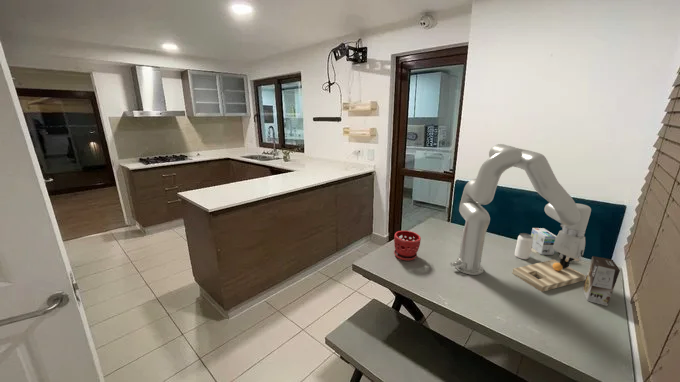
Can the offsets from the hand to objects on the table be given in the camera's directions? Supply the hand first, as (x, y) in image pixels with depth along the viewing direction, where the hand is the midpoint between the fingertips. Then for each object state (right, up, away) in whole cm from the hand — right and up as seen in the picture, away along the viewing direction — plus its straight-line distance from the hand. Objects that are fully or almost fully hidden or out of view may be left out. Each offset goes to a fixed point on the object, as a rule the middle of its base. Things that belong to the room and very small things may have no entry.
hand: (563, 267), depth 124 cm
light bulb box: (+5, +3, +22) cm, 23 cm away
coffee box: (0, -8, -15) cm, 17 cm away
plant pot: (-69, +1, +16) cm, 71 cm away
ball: (-4, +1, -2) cm, 4 cm away
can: (-9, +1, +15) cm, 18 cm away
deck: (-9, -4, -2) cm, 10 cm away
